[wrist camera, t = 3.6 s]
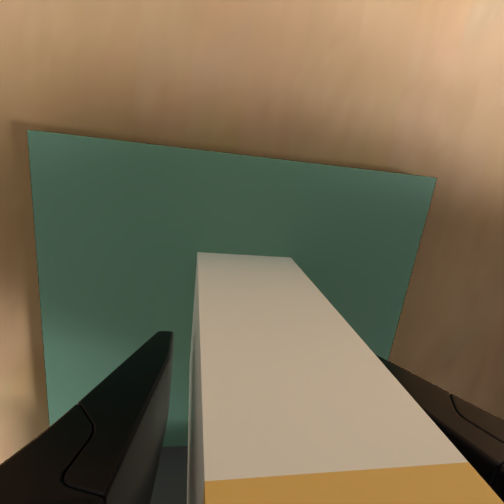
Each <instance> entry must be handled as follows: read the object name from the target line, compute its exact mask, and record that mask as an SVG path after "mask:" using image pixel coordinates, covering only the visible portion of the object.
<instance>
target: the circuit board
mask: <svg viewBox="0 0 504 504" xmlns="http://www.w3.org/2000/svg"><path fill="white" fill-rule="evenodd" d="M27 135H28V148H29V161H30V175H31V188H32V201H33V214H34V227H35V240H36V254H37V267H38V280H39V293H40V306H41V320H42V333H43V346H44V359H45V372H46V385H47V399H48V412H49V425H50V426H51V425H52V424H53V423H55V422H56V421H57V420H58V419H59V418H60V417H62V416H63V415H64V414H65V413H66V412H67V411H69V410H70V409H71V408H72V407H73V406H74V405H75V404H78V402H79V401H80V400H81V399H82V398H83V397H84V396H86V395H87V394H88V393H89V392H90V391H91V390H92V389H93V388H95V387H96V386H97V385H98V384H99V383H100V382H101V381H103V380H104V379H105V378H106V377H107V376H108V375H109V374H110V373H112V372H113V371H114V370H115V369H116V368H117V367H118V366H119V365H121V364H122V363H123V362H124V361H125V360H126V359H127V358H128V357H130V356H131V355H132V354H133V353H134V352H135V351H136V350H137V349H139V348H140V347H141V346H142V345H143V344H144V343H145V342H146V341H148V340H149V339H150V338H151V337H152V336H153V335H154V334H155V333H157V332H158V331H172V332H173V333H174V347H173V365H172V377H171V389H170V401H169V413H168V421H167V426H166V432H165V436H164V441H163V446H162V447H175V446H188V417H189V368H190V351H191V336H192V322H193V308H194V293H195V279H196V265H197V252H205V253H222V254H239V255H256V256H273V257H290V258H292V259H293V261H294V262H295V263H296V264H297V265H298V266H299V268H300V269H301V270H302V271H303V272H304V273H305V274H306V276H307V277H308V278H309V279H310V280H311V281H312V282H313V284H314V285H315V286H316V287H317V288H318V289H319V291H320V292H321V293H322V294H323V295H324V296H325V297H326V299H327V300H328V301H329V302H330V303H331V304H332V306H333V307H334V308H335V309H336V310H337V311H338V312H339V314H340V315H341V316H342V317H343V318H344V319H345V320H346V322H347V323H348V324H349V325H350V326H351V327H352V329H353V330H354V331H355V332H356V333H357V334H358V335H359V337H360V338H361V339H362V340H363V341H364V342H365V343H366V345H367V346H368V347H369V348H370V349H371V350H372V352H373V353H374V354H376V355H378V356H380V357H382V358H384V359H386V360H387V361H388V358H389V355H390V351H391V347H392V344H393V340H394V336H395V332H396V329H397V325H398V321H399V318H400V314H401V310H402V306H403V303H404V299H405V295H406V292H407V288H408V284H409V280H410V277H411V273H412V269H413V265H414V262H415V258H416V254H417V251H418V247H419V243H420V239H421V236H422V232H423V228H424V225H425V221H426V217H427V213H428V210H429V206H430V202H431V198H432V195H433V191H434V187H435V184H436V180H437V178H434V177H426V176H418V175H410V174H402V173H393V172H385V171H376V170H368V169H359V168H351V167H342V166H334V165H325V164H317V163H308V162H300V161H291V160H283V159H274V158H266V157H257V156H249V155H240V154H232V153H223V152H215V151H206V150H198V149H189V148H181V147H172V146H164V145H155V144H147V143H138V142H130V141H121V140H113V139H104V138H96V137H87V136H79V135H70V134H62V133H53V132H45V131H35V130H27Z"/></svg>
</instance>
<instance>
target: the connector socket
mask: <svg viewBox="0 0 504 504" xmlns="http://www.w3.org/2000/svg"><path fill="white" fill-rule="evenodd" d="M187 466H188V446H175V447H162V450H161V455H160V460H159V464H158V469H157V474H156V478H155V483H154V488H153V492H152V497H151V502H150V504H187Z"/></svg>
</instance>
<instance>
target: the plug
mask: <svg viewBox="0 0 504 504" xmlns="http://www.w3.org/2000/svg"><path fill="white" fill-rule="evenodd" d="M187 504H504V502H503V501H502V500H501V499H500V498H499V497H498V495H497V494H496V493H495V492H494V491H493V490H492V489H491V487H490V486H489V485H488V484H487V483H486V482H485V480H484V479H483V478H482V477H481V476H480V475H479V474H478V472H477V471H476V470H475V469H474V468H473V467H472V465H471V464H470V463H469V462H468V461H467V460H466V459H465V457H464V456H463V455H462V454H461V453H460V452H459V451H458V449H457V448H456V447H455V446H454V445H453V444H452V442H451V441H450V440H449V439H448V438H447V437H446V436H445V434H444V433H443V432H442V431H441V430H440V429H439V428H438V426H437V425H436V424H435V423H434V422H433V421H432V419H431V418H430V417H429V416H428V415H427V414H426V413H425V411H424V410H423V409H422V408H421V407H420V406H419V404H418V403H417V402H416V401H415V400H414V399H413V398H412V396H411V395H410V394H409V393H408V392H407V391H406V390H405V388H404V387H403V386H402V385H401V384H400V383H399V381H398V380H397V379H396V378H395V377H394V376H393V375H392V373H391V372H390V371H389V370H388V369H387V368H386V367H385V365H384V364H383V363H382V362H381V361H380V360H379V358H378V357H377V356H376V355H375V354H374V353H373V352H372V350H371V349H370V348H369V347H368V346H367V345H366V343H365V342H364V341H363V340H362V339H361V338H360V337H359V335H358V334H357V333H356V332H355V331H354V330H353V329H352V327H351V326H350V325H349V324H348V323H347V322H346V320H345V319H344V318H343V317H342V316H341V315H340V314H339V312H338V311H337V310H336V309H335V308H334V307H333V306H332V304H331V303H330V302H329V301H328V300H327V299H326V297H325V296H324V295H323V294H322V293H321V292H320V291H319V289H318V288H317V287H316V286H315V285H314V284H313V282H312V281H311V280H310V279H309V278H308V277H307V276H306V274H305V273H304V272H303V271H302V270H301V269H300V268H299V266H298V265H297V264H296V263H295V262H294V261H293V259H292V258H290V257H273V256H256V255H239V254H222V253H205V252H197V265H196V279H195V293H194V308H193V322H192V336H191V351H190V368H189V417H188V466H187Z"/></svg>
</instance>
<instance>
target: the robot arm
mask: <svg viewBox="0 0 504 504" xmlns="http://www.w3.org/2000/svg"><path fill="white" fill-rule="evenodd" d="M173 347H174V333H173V332H172V331H158V332H157V333H155V334H154V335H153V336H152V337H151V338H150V339H149V340H148V341H146V342H145V343H144V344H143V345H142V346H141V347H140V348H139V349H137V350H136V351H135V352H134V353H133V354H132V355H131V356H130V357H128V358H127V359H126V360H125V361H124V362H123V363H122V364H121V365H119V366H118V367H117V368H116V369H115V370H114V371H113V372H112V373H110V374H109V375H108V376H107V377H106V378H105V379H104V380H103V381H101V382H100V383H99V384H98V385H97V386H96V387H95V388H93V389H92V390H91V391H90V392H89V393H88V394H87V395H86V396H84V397H83V398H82V399H81V400H80V401H79V402H78V404H75V405H74V406H73V407H72V408H71V409H70V410H69V411H67V412H66V413H65V414H64V415H63V416H62V417H60V418H59V419H58V420H57V421H56V422H55V423H53V424H52V425H51V426H50V427H49V428H47V429H46V430H45V431H44V432H43V433H41V434H40V435H39V436H37V437H36V438H35V439H34V440H32V441H31V442H30V443H28V444H27V445H26V446H24V447H23V448H22V449H21V450H19V451H18V452H17V453H15V454H14V455H13V456H11V457H10V458H9V459H7V460H6V461H4V462H3V463H2V464H0V504H150V502H151V497H152V492H153V488H154V483H155V478H156V474H157V469H158V464H159V460H160V455H161V450H162V446H163V441H164V436H165V432H166V426H167V421H168V413H169V401H170V389H171V377H172V365H173ZM375 355H376V354H375ZM376 356H377V357H378V358H379V360H380V361H381V362H382V363H383V364H384V365H385V367H386V368H387V369H388V370H389V371H390V372H391V373H392V375H393V376H394V377H395V378H396V379H397V380H398V381H399V383H400V384H401V385H402V386H403V387H404V388H405V390H406V391H407V392H408V393H409V394H410V395H411V396H412V398H413V399H414V400H415V401H416V402H417V403H418V404H419V406H420V407H421V408H422V409H423V410H424V411H425V413H426V414H427V415H428V416H429V417H430V418H431V419H432V421H433V422H434V423H435V424H436V425H437V426H438V428H439V429H440V430H441V431H442V432H443V433H444V434H445V436H446V437H447V438H448V439H449V440H450V441H451V442H452V444H453V445H454V446H455V447H456V448H457V449H458V451H459V452H460V453H461V454H462V455H463V456H464V457H465V459H466V460H467V461H468V462H469V463H470V464H471V465H472V467H473V468H474V469H475V470H476V471H477V472H478V474H479V475H480V476H481V477H482V478H483V479H484V480H485V482H486V483H487V484H488V485H489V486H490V487H491V489H492V490H493V491H494V492H495V493H496V494H497V495H498V497H499V498H500V499H501V500H502V501H503V502H504V420H502V419H500V418H498V417H496V416H494V415H492V414H490V413H488V412H486V411H484V410H482V409H480V408H478V407H476V406H474V405H472V404H470V403H468V402H466V401H464V400H462V399H460V398H458V397H457V396H455V395H453V394H450V395H449V393H448V392H447V391H445V390H443V389H441V388H439V387H437V386H435V385H433V384H431V383H430V382H428V381H426V380H424V379H422V378H420V377H418V376H416V375H414V374H412V373H410V372H409V371H407V370H405V369H403V368H401V367H399V366H397V365H395V364H393V363H391V362H389V361H387V360H386V359H384V358H382V357H380V356H378V355H376Z"/></svg>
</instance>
